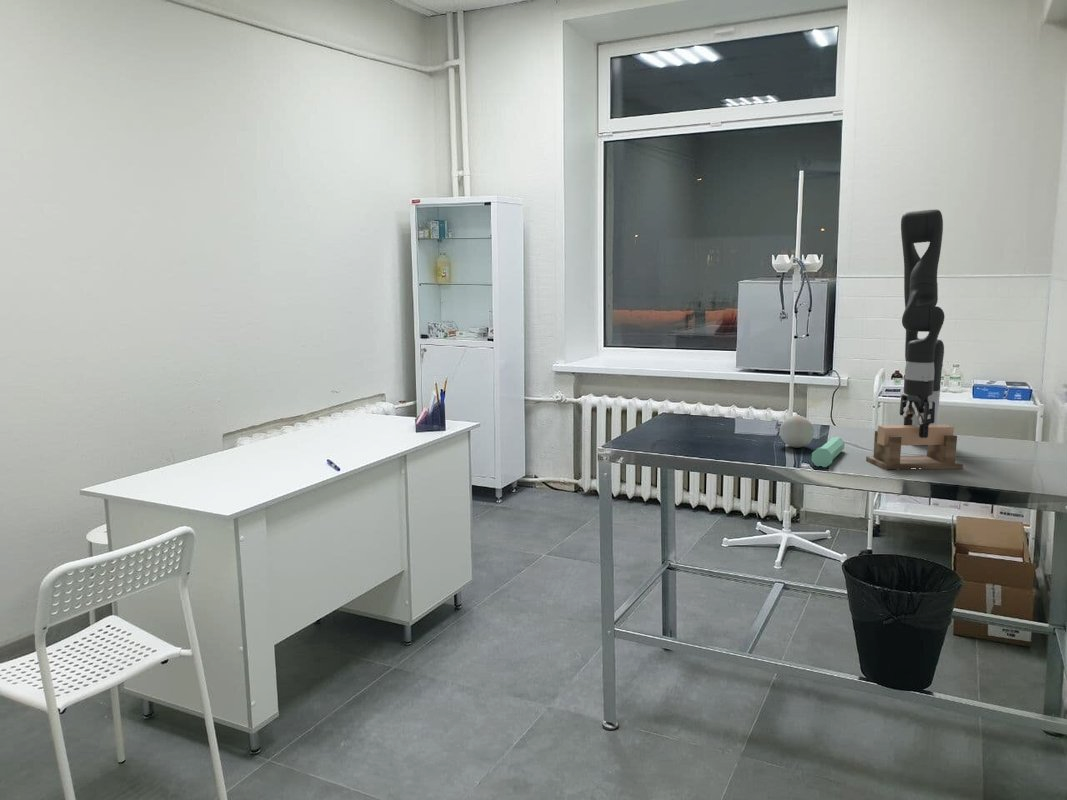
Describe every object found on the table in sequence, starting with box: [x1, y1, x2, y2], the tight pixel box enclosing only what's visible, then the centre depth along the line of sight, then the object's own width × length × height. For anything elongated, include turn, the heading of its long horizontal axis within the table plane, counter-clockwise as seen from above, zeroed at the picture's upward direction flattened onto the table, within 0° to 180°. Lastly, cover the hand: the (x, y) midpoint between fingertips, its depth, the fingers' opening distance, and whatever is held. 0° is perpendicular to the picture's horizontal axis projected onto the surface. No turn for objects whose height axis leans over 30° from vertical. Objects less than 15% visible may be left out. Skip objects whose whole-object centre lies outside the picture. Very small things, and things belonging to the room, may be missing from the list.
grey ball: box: [779, 415, 815, 449], centre depth 261 cm, size 10×10×10 cm
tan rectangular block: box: [877, 424, 955, 446], centre depth 237 cm, size 4×20×5 cm, turn 94°
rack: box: [865, 430, 964, 471], centre depth 237 cm, size 12×22×9 cm, turn 94°
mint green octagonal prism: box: [811, 436, 846, 468], centre depth 246 cm, size 6×6×25 cm
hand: (915, 434), depth 236 cm, fingers open, 8 cm apart
